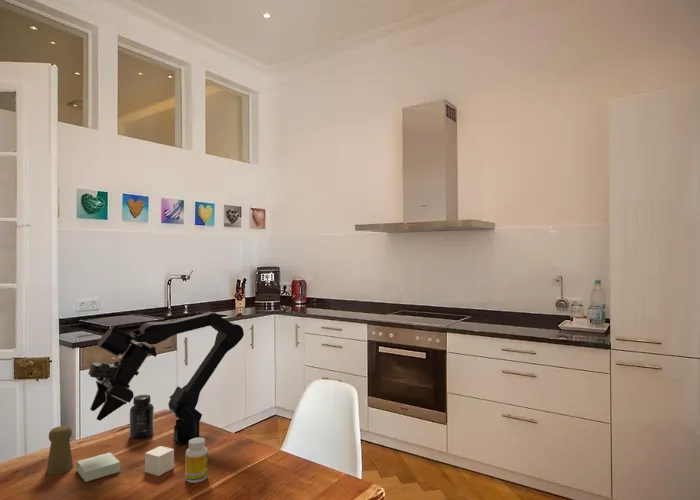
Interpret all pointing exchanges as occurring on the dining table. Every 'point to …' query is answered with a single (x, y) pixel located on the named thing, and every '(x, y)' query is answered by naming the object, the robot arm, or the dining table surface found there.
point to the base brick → (98, 466)
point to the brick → (159, 460)
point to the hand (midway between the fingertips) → (94, 415)
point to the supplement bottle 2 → (196, 461)
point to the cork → (59, 451)
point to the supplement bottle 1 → (141, 417)
